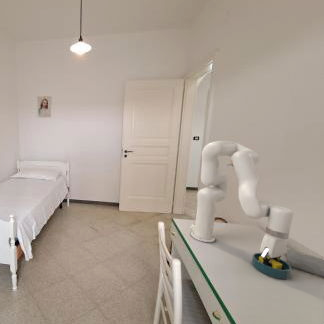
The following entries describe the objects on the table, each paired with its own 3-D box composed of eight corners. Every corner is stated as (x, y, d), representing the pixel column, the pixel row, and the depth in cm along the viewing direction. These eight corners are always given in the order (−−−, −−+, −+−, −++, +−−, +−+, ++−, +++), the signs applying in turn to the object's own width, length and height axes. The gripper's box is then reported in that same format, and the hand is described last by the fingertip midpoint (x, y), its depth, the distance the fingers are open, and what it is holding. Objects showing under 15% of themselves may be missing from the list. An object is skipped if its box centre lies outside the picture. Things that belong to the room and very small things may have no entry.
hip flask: (288, 266, 100) (355, 288, 87) (289, 259, 100) (358, 280, 86) (285, 253, 112) (344, 270, 98) (287, 246, 111) (346, 263, 98)
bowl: (244, 263, 102) (246, 255, 101) (263, 259, 106) (264, 251, 105) (277, 282, 89) (279, 273, 89) (296, 276, 93) (298, 267, 93)
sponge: (257, 263, 101) (259, 256, 100) (263, 262, 102) (264, 255, 101) (275, 273, 94) (276, 265, 93) (280, 271, 95) (282, 264, 94)
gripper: (278, 227, 101) (271, 260, 104) (255, 231, 96) (248, 266, 99) (299, 234, 93) (291, 270, 97) (274, 239, 89) (267, 277, 92)
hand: (269, 267), depth 98 cm, fingers closed on sponge, 4 cm apart
